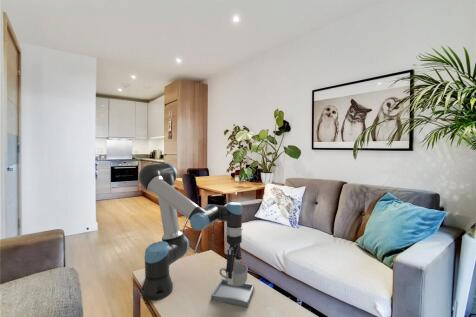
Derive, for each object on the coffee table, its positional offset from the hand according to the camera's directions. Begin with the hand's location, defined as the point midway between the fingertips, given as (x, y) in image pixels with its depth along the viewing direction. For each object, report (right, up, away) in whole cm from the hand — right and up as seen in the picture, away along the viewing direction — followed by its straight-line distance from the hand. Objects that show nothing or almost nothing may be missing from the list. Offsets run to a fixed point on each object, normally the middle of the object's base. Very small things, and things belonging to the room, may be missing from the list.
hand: (234, 277), depth 120 cm
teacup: (0, -3, 0) cm, 3 cm away
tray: (0, -9, +1) cm, 9 cm away
